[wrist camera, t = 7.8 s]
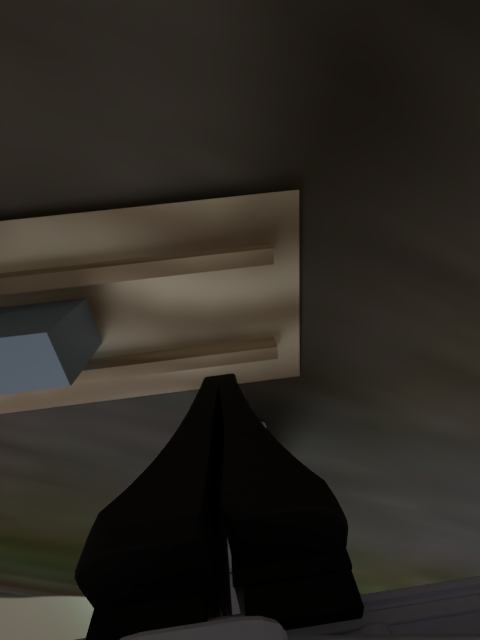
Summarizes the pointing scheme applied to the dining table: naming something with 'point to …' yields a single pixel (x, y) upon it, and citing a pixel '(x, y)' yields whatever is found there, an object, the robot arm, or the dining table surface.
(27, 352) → the blue-grey rectangular block
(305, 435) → the dining table surface
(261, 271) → the shelf slot
